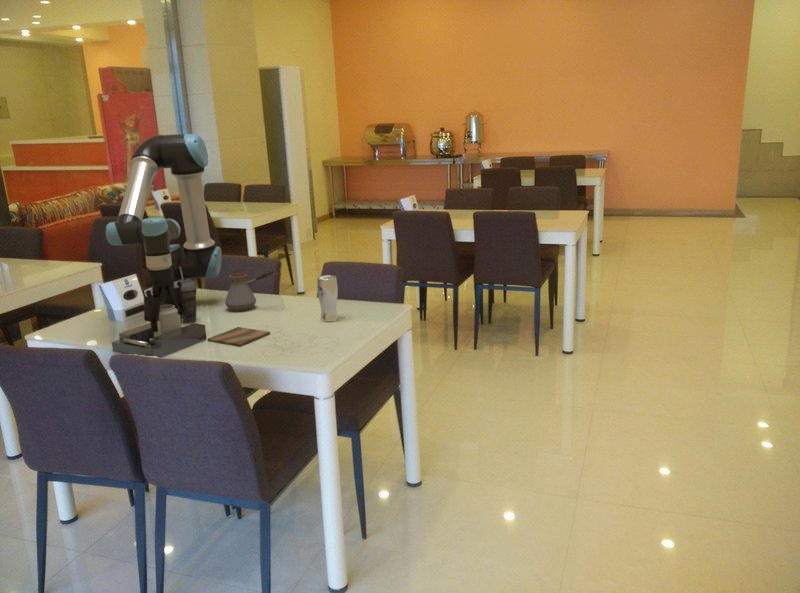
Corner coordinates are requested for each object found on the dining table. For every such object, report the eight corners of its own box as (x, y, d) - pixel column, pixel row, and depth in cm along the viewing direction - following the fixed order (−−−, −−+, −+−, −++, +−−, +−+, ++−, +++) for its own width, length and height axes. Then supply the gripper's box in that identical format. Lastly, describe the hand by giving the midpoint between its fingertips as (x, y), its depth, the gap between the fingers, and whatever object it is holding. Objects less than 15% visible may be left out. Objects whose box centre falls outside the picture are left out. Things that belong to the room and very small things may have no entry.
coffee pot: (220, 312, 256) (215, 272, 252) (234, 304, 267) (230, 266, 263) (273, 314, 251) (269, 273, 247) (286, 305, 262) (282, 267, 258)
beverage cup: (197, 324, 242) (190, 268, 237) (176, 324, 242) (169, 268, 237) (202, 318, 249) (196, 263, 244) (182, 319, 249) (175, 264, 244)
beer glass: (316, 321, 239) (313, 279, 236) (324, 316, 246) (321, 274, 242) (334, 322, 237) (332, 280, 234) (342, 317, 244) (340, 275, 240)
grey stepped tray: (112, 351, 216) (110, 335, 215) (165, 332, 234) (164, 318, 232) (154, 359, 207) (152, 343, 205) (206, 339, 224) (205, 324, 223)
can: (174, 346, 219) (169, 309, 216) (152, 345, 220) (147, 309, 217) (185, 338, 226) (181, 303, 223) (164, 338, 227) (160, 302, 224)
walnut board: (207, 341, 223) (207, 338, 222) (238, 329, 234) (238, 326, 234) (240, 346, 216) (240, 344, 215) (270, 334, 227) (269, 331, 227)
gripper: (141, 275, 207) (151, 348, 212) (192, 262, 224) (200, 330, 229) (124, 273, 210) (134, 345, 216) (176, 260, 227) (184, 327, 233)
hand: (168, 337), depth 223 cm, fingers closed on can, 7 cm apart
